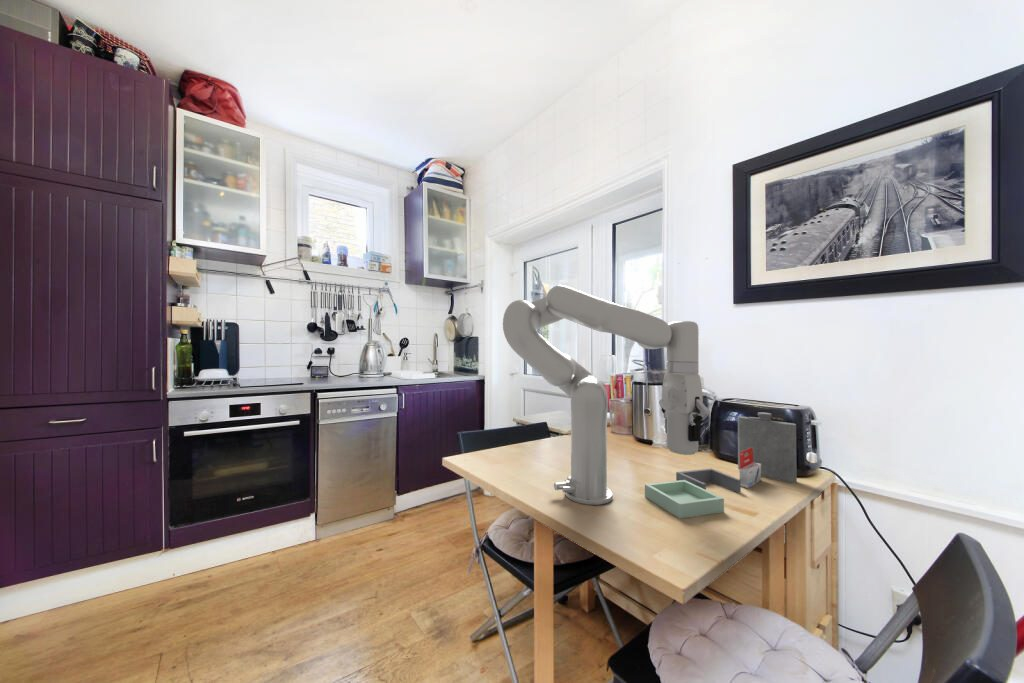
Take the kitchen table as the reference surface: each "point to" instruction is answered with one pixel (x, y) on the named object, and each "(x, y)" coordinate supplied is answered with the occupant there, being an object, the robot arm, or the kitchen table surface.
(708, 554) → the kitchen table surface
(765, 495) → the kitchen table surface
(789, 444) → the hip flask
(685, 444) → the can
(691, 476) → the bay
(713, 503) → the tray
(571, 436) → the robot arm
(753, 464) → the ink cartridge box
